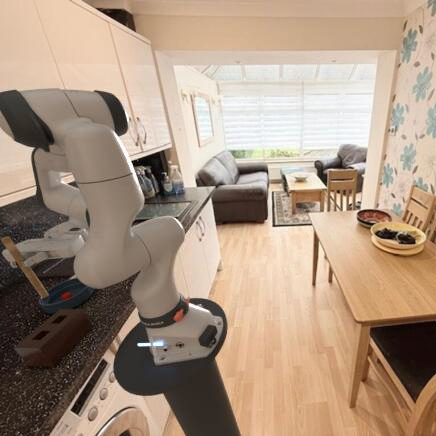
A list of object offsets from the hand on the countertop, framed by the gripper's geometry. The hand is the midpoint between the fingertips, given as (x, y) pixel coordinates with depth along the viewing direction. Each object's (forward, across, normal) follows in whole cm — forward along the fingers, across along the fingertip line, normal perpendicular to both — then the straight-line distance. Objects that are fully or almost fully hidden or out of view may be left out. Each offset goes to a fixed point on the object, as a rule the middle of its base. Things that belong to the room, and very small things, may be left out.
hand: (19, 265), depth 64 cm
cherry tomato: (-16, -14, +26) cm, 34 cm away
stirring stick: (-1, 0, +12) cm, 12 cm away
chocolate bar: (-38, -22, +29) cm, 52 cm away
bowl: (-17, -14, +29) cm, 36 cm away
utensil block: (+3, 0, +29) cm, 29 cm away
